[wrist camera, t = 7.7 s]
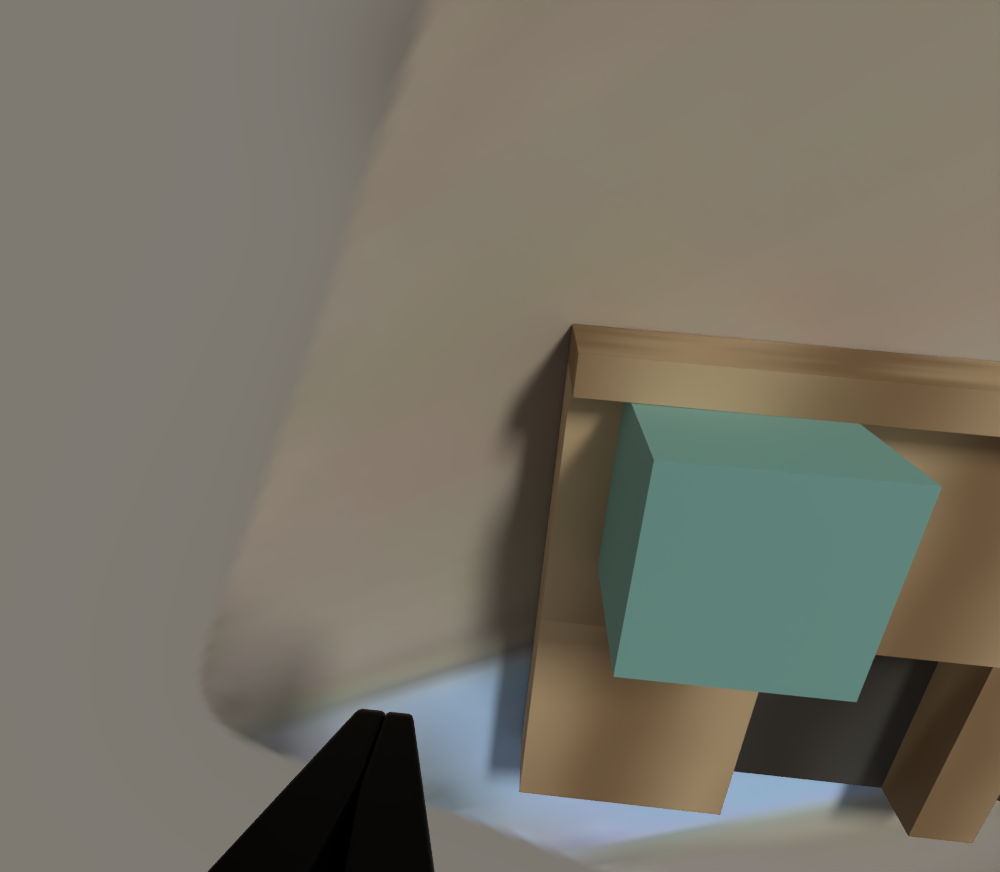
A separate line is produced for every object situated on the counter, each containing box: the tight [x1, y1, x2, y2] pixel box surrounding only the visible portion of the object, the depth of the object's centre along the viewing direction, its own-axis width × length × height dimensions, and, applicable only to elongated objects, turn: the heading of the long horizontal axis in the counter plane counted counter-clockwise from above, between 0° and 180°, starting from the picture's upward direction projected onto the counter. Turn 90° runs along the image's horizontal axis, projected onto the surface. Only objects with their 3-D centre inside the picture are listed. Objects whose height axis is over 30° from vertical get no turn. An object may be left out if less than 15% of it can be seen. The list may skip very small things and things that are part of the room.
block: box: [598, 402, 942, 702], centre depth 14 cm, size 5×5×4 cm
